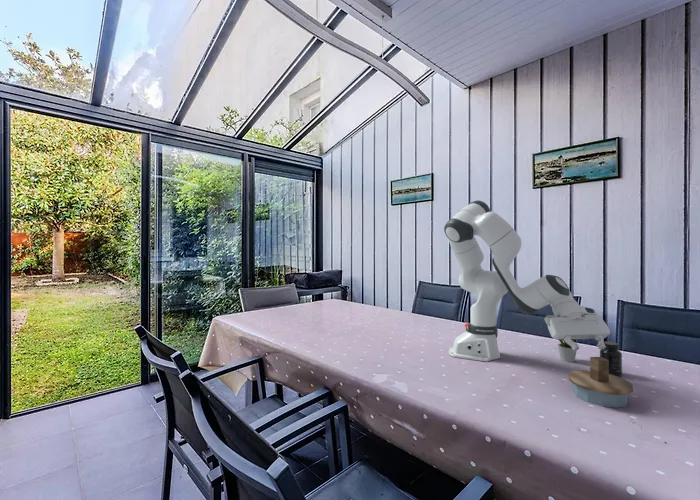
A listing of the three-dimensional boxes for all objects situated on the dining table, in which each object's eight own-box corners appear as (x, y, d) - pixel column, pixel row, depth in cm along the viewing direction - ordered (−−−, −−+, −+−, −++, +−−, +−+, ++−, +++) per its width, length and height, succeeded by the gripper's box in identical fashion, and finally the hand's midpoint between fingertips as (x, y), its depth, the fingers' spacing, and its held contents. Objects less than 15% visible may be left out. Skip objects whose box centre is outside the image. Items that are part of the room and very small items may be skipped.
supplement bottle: (595, 370, 133) (595, 340, 132) (611, 370, 133) (611, 340, 133) (610, 377, 126) (610, 345, 126) (626, 376, 126) (626, 345, 126)
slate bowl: (583, 404, 105) (583, 389, 105) (567, 386, 119) (567, 373, 119) (636, 409, 101) (636, 394, 101) (613, 390, 115) (613, 377, 115)
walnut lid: (593, 395, 101) (593, 368, 101) (557, 374, 118) (557, 351, 118) (648, 394, 102) (648, 367, 102) (604, 373, 119) (604, 350, 119)
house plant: (597, 368, 135) (596, 328, 135) (559, 366, 138) (559, 326, 138) (580, 356, 149) (580, 320, 149) (546, 355, 152) (546, 319, 152)
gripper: (546, 310, 122) (564, 345, 112) (600, 309, 123) (623, 343, 113) (538, 320, 126) (556, 353, 117) (590, 318, 127) (612, 352, 118)
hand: (589, 348), depth 115 cm, fingers open, 8 cm apart
